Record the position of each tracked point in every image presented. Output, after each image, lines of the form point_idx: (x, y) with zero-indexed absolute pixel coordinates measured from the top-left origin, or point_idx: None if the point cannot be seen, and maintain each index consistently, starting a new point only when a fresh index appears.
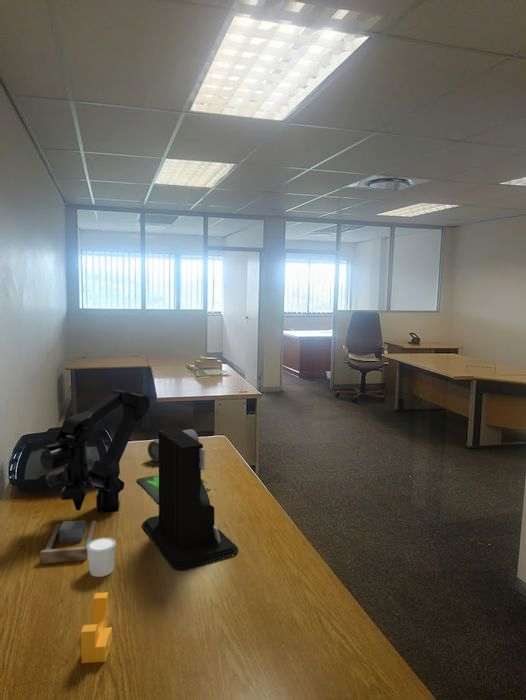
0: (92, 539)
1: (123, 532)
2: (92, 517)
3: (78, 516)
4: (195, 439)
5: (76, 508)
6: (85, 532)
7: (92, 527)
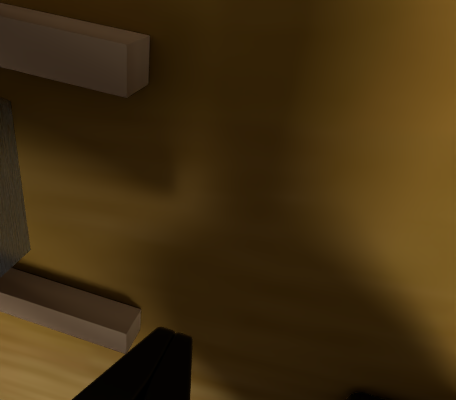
0: None
1: (31, 390)
2: (277, 339)
3: (357, 262)
4: None
5: (138, 349)
6: (26, 251)
7: (27, 310)
